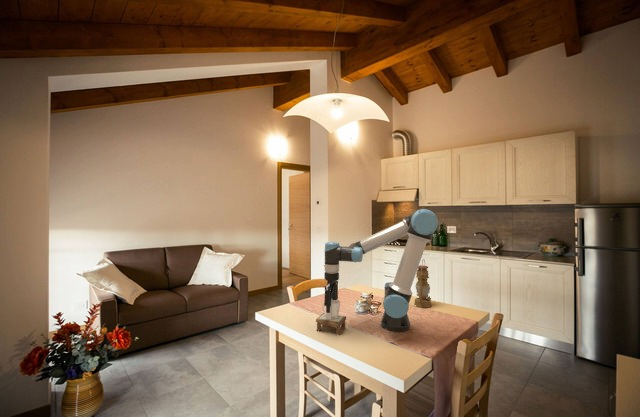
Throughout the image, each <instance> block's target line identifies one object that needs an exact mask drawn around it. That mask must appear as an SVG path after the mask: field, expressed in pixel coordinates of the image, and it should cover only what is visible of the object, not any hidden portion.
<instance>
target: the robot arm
mask: <svg viewBox="0 0 640 417" xmlns="http://www.w3.org/2000/svg"><path fill="white" fill-rule="evenodd" d="M438 225H439V220H438V217H437V215H436V214H435V213H434V212H433V211H432V210H429V209H428V208H427V209H426V208H421V209H418V210H416V211H414V212H413V213H411V214H409V215H407V216H406V217H404V218H403V219H402V221H399V222H397V223H395V224H393V225H391V226H388V227H387V228H384V229H382V230H380V231H378V232H376V233H374V234H372V235H369V236H367V237H365V238H363V239H361V240H359V241H357V242H354V243H351V244H350V245H348V246H341V245H340V242H337V241H327V242H326V243H325V244H324V264H323V267H324V276H323V277H324V278H323V279H324V280H325V281H326V282H327V283H326V285H325V286H324V302H323V304H324V306H323V307H325V312H326V319H331V313H332V306H331V300H339V287H338V285H339V280H340V279H339V278H340V273H339V272H340V262H348V263H361V262H362V261H363V257H364V256H363V255H365V254H367V253H369V252H371V251H374V250H376V249H378V248H381V247H383V246H386V245H387V244H388V245H389V243H392V242H394V241H396V240H399V239H401V238H403V237H405V236H408V238H407V241H406V244H405V247H404V250H403V252H402V256H401V259H400V263H399V264H398V268H397V269H396V270H397V271H396V273H395V276H394V279H393V281H392V282H386V283H385V284H384V295H383V296H384V297H383V302H382V306H383V313H382V314H383V315H382V316H381V320H380V325H381V326H380V327H382V328H383V329H384V330H385V329H386V330H388V331H391V332H406V331H408V330H410V329H411V321H410V318H409V315H408V311H409V309H410V302H411V299H412V297H413V292H412V290H411V288H412V286H413V284H414V283H413V282H414V280H415V278H416V276H417V274H416V273H417V270H418V266H419V265H420V263H421V261H422V257H423V253H424V251H425V249H426V245H427V244H428V243H429V242H431V241H432V238H433V236H434V233H435V231H436V230H437V229H438Z"/></svg>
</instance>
